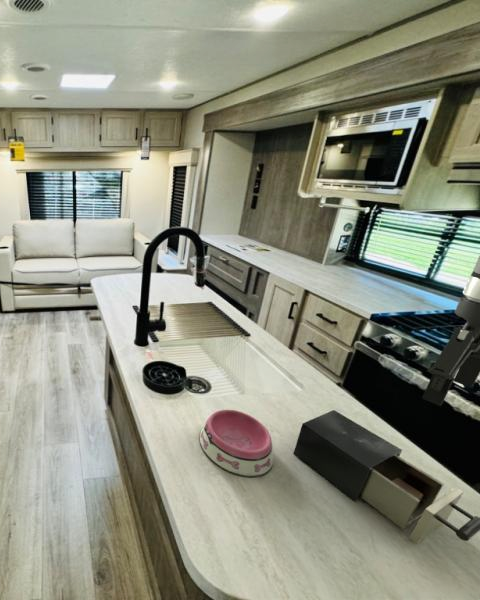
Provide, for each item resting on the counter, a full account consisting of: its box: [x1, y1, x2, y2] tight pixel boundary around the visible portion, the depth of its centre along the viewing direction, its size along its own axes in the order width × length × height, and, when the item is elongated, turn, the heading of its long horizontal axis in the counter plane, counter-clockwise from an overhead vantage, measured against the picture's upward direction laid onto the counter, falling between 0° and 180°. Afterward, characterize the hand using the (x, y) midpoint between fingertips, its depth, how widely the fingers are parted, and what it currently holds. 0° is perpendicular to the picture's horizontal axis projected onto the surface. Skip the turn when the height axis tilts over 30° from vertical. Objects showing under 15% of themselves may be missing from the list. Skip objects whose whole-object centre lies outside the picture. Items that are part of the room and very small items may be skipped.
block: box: [392, 478, 423, 508], centre depth 68 cm, size 4×4×4 cm
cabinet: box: [293, 409, 403, 503], centre depth 78 cm, size 15×13×11 cm
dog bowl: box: [198, 409, 274, 478], centre depth 85 cm, size 18×19×7 cm
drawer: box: [359, 455, 480, 545], centre depth 66 cm, size 18×11×9 cm, turn 22°
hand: (447, 392), depth 67 cm, fingers open, 13 cm apart
